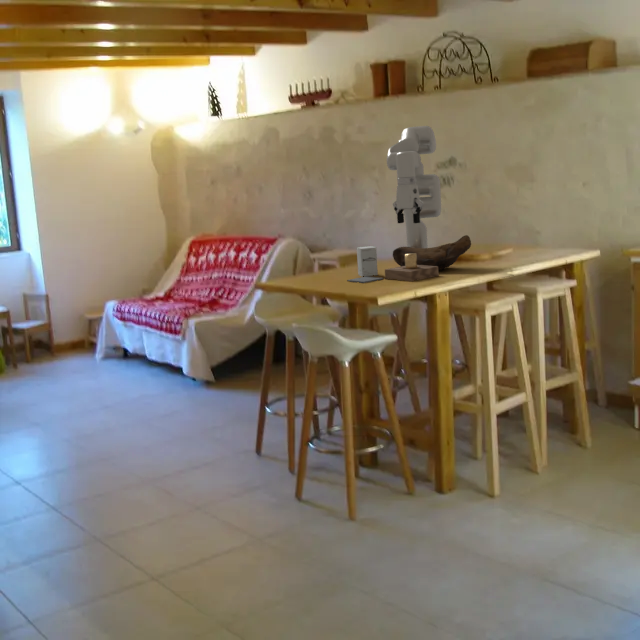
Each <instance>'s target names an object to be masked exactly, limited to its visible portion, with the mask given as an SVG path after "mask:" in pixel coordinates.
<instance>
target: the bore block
mask: <svg viewBox="0 0 640 640" xmlns="http://www.w3.org/2000/svg"><path fill="white" fill-rule="evenodd" d="M434 277H439V270H438V266H426V265H417V268H416V269H405V266H397V267H396V266H395V267H391V268H386V269H384V279H385V280H393V279H397V280H396V281H403V280H405V281H406V282H415V281H420V280H424V279H425V280H426V279H430V278H434ZM414 280H415V281H414ZM405 281H404V282H405Z"/></svg>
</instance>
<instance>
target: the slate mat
mask: <svg viewBox="0 0 640 640" xmlns="http://www.w3.org/2000/svg"><path fill="white" fill-rule="evenodd" d="M382 279H383V280H384V277H379V276H378V277H376V276H364V277H362V276H360V277H356V278H352V279H347V280H346V281H347V282H348V281H350V282H349V283H357V282H359V283H360V284H365V283H366V284H367V283H371V282H372V281H373V282H378V281H382ZM377 280H378V281H377ZM373 282H372V283H373Z"/></svg>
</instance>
